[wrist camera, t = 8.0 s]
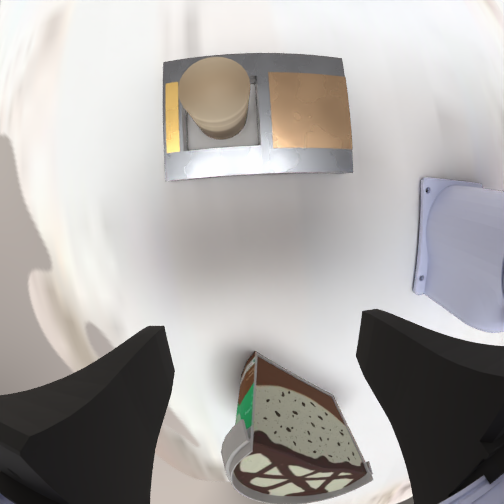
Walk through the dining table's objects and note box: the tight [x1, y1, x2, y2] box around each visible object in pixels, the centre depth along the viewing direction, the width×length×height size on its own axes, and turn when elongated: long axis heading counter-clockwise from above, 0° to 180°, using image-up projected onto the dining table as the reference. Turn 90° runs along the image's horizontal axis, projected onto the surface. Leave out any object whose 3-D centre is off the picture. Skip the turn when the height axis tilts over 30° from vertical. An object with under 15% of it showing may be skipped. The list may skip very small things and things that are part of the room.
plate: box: [163, 53, 353, 181], centre depth 15 cm, size 8×12×2 cm
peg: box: [178, 57, 250, 139], centre depth 13 cm, size 3×3×6 cm
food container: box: [221, 351, 373, 504], centre depth 17 cm, size 12×6×10 cm, turn 51°
